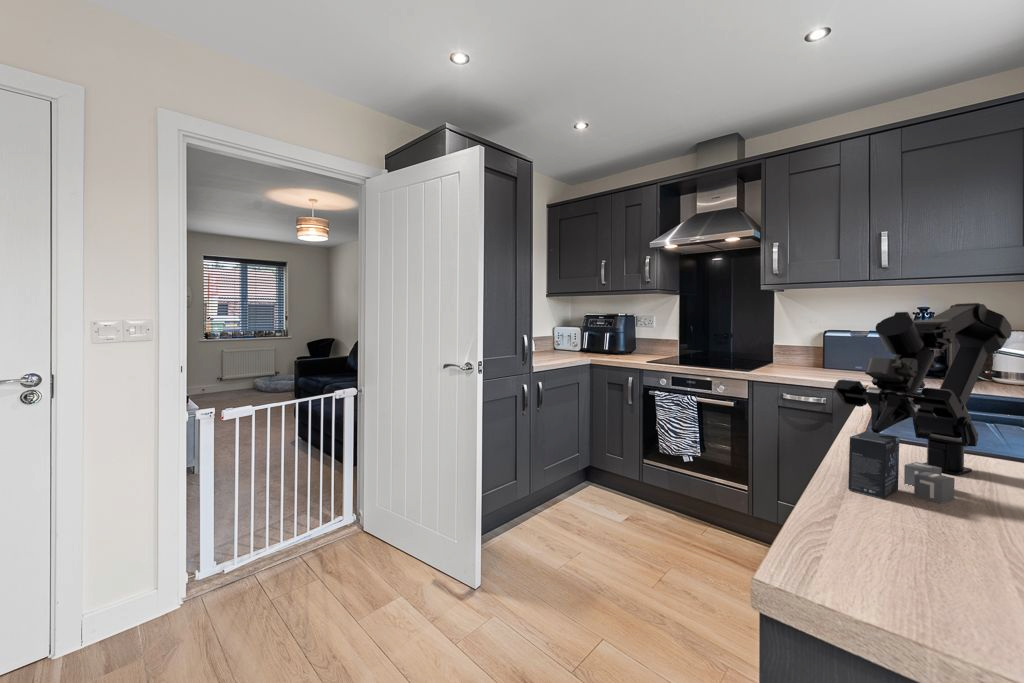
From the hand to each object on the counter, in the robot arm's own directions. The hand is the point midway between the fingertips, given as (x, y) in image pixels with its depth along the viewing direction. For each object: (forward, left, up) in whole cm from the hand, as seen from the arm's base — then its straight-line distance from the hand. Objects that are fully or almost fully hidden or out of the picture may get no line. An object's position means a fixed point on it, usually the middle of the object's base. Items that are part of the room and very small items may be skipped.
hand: (874, 431), depth 84 cm
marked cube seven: (-6, +6, -12) cm, 14 cm away
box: (0, 0, -12) cm, 12 cm away
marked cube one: (-11, +2, -12) cm, 16 cm away
